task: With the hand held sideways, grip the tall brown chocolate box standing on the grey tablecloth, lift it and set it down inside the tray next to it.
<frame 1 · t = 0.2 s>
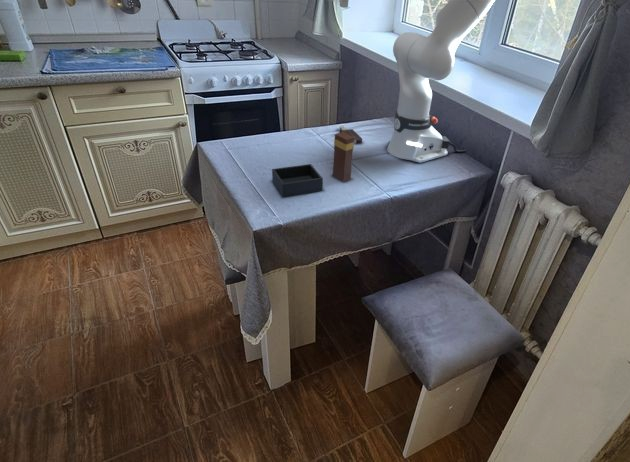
hand: (336, 4, 117), 47 cm above the table, tool pointing down, fingers open, 8 cm apart
ice cream bar: (348, 136, 163), on the table
chocolate box: (341, 177, 136), on the table
tray: (297, 185, 129), on the table
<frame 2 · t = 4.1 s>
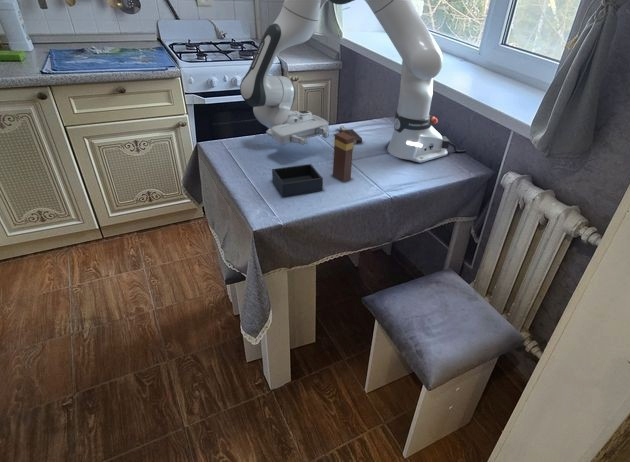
hand: (316, 138, 137), 9 cm above the table, tool horizontal, fingers open, 8 cm apart
nothing on the table moved.
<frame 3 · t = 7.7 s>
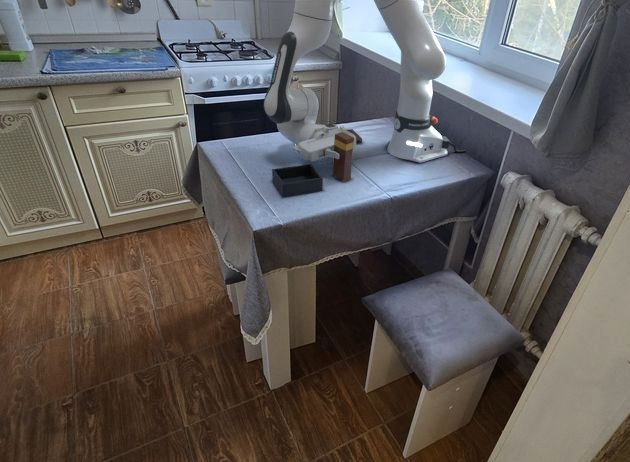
hand: (345, 154, 131), 8 cm above the table, tool horizontal, fingers closed on chocolate box, 3 cm apart
chocolate box: (341, 177, 136), on the table, touching gripper
everything else where it was.
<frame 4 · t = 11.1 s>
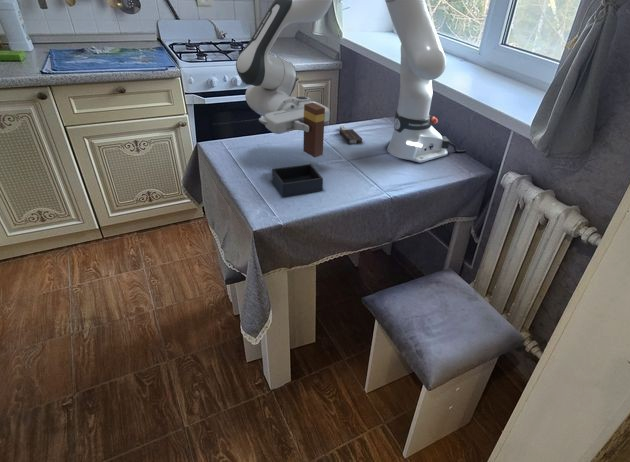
hand: (316, 127, 120), 18 cm above the table, tool horizontal, fingers closed on chocolate box, 3 cm apart
chocolate box: (313, 153, 126), point 10 cm above the table, touching gripper
everything else where it was.
when the fingers open (9 cm above the table, at t = 14.7 s): chocolate box stays where it is, resting on tray.
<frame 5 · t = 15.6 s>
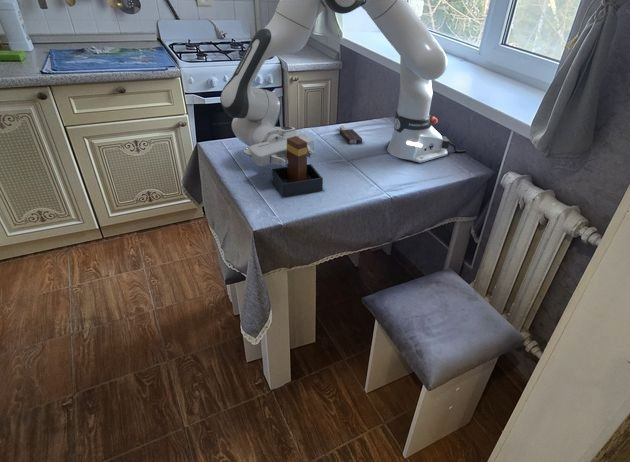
hand: (299, 158, 123), 9 cm above the table, tool horizontal, fingers open, 8 cm apart
chocolate box: (296, 184, 128), point 1 cm above the table, touching tray
everything else where it was.
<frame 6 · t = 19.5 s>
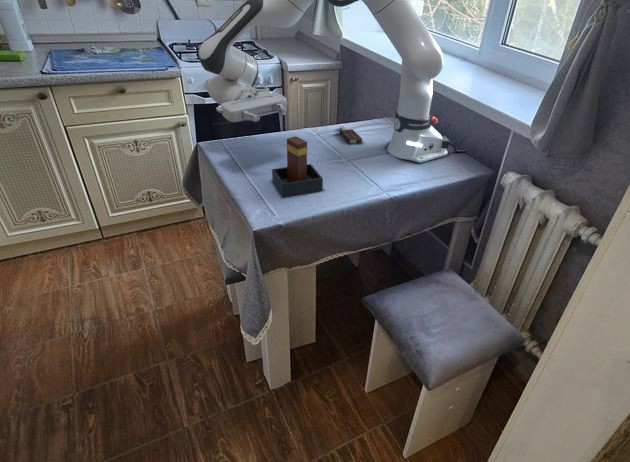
hand: (271, 115, 125), 18 cm above the table, tool horizontal, fingers open, 8 cm apart
nothing on the table moved.
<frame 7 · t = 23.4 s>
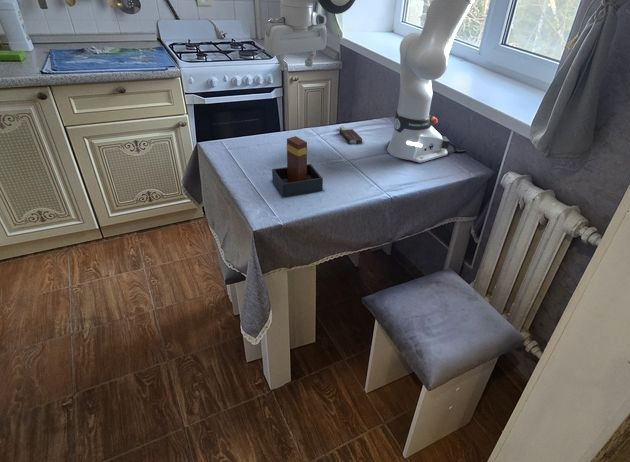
hand: (296, 68, 127), 29 cm above the table, tool pointing down, fingers open, 8 cm apart
nothing on the table moved.
at the end: chocolate box inside the target area in the tray (0.1 cm from its centre), point 0.6 cm above the tray's base; the gripper is holding nothing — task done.
